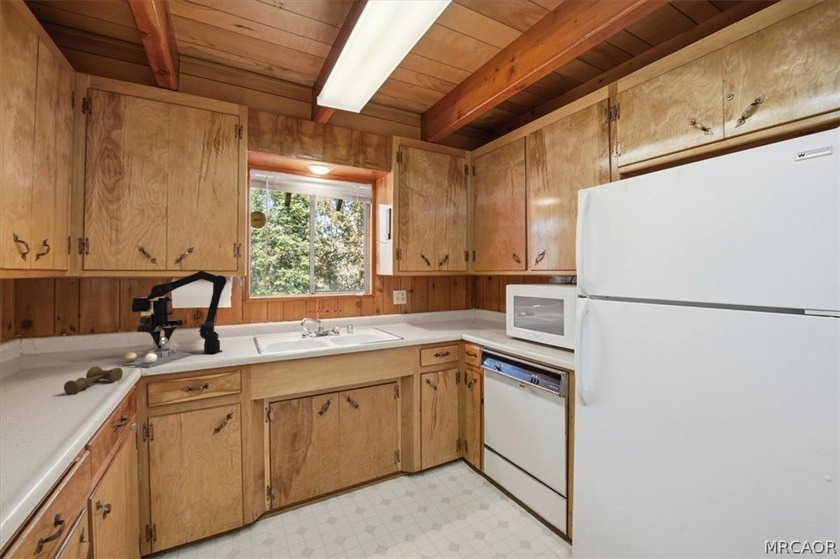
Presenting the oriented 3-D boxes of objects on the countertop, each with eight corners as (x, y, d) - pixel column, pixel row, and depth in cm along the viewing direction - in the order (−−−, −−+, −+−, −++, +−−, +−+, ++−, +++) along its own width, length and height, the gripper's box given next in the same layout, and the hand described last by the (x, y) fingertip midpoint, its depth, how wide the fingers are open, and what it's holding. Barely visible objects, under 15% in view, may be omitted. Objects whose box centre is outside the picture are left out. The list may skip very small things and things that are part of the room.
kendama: (55, 396, 119) (107, 376, 139) (84, 397, 119) (131, 376, 139) (54, 379, 119) (106, 361, 138) (83, 380, 119) (131, 362, 139)
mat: (190, 355, 170) (190, 353, 170) (149, 368, 150) (149, 365, 150) (163, 354, 173) (163, 351, 173) (119, 366, 153) (119, 363, 153)
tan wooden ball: (139, 360, 157) (139, 351, 157) (129, 363, 153) (129, 353, 152) (131, 360, 158) (131, 350, 158) (121, 363, 154) (121, 353, 153)
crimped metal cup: (180, 353, 170) (180, 348, 170) (161, 358, 160) (160, 353, 160) (163, 352, 172) (163, 347, 172) (142, 357, 162) (142, 352, 162)
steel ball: (170, 344, 168) (169, 335, 168) (161, 346, 164) (161, 337, 163) (162, 344, 169) (162, 334, 169) (153, 346, 164) (153, 336, 164)
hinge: (169, 353, 175) (160, 335, 174) (159, 357, 174) (150, 339, 172) (179, 346, 191) (171, 329, 189) (169, 349, 189) (161, 333, 188)
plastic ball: (159, 362, 155) (159, 352, 155) (150, 364, 150) (150, 354, 150) (151, 361, 156) (151, 351, 155) (142, 364, 151) (141, 354, 151)
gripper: (164, 308, 176) (165, 338, 177) (126, 313, 158) (128, 347, 159) (183, 308, 174) (184, 339, 175) (147, 313, 156) (148, 348, 156)
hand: (162, 343), depth 166 cm, fingers closed on steel ball, 4 cm apart
